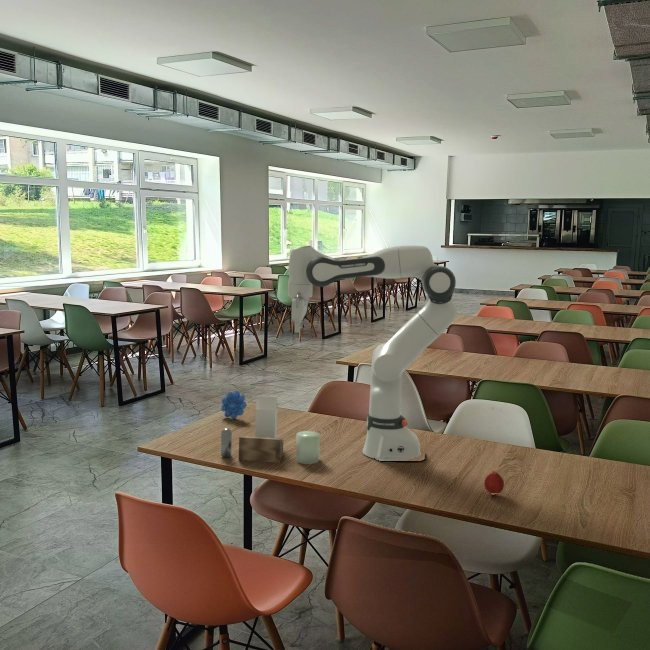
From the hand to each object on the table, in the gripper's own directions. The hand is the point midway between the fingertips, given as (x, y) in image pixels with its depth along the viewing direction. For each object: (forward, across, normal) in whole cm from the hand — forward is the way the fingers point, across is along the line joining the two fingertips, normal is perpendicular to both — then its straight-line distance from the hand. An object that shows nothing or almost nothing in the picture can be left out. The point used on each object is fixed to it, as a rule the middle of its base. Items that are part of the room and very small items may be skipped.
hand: (298, 330), depth 230 cm
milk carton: (+43, -5, +10) cm, 44 cm away
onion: (+42, -37, -65) cm, 86 cm away
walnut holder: (+42, -14, +10) cm, 46 cm away
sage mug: (+42, -14, -6) cm, 45 cm away
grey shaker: (+43, -16, +22) cm, 51 cm away
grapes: (+43, +28, +27) cm, 58 cm away
